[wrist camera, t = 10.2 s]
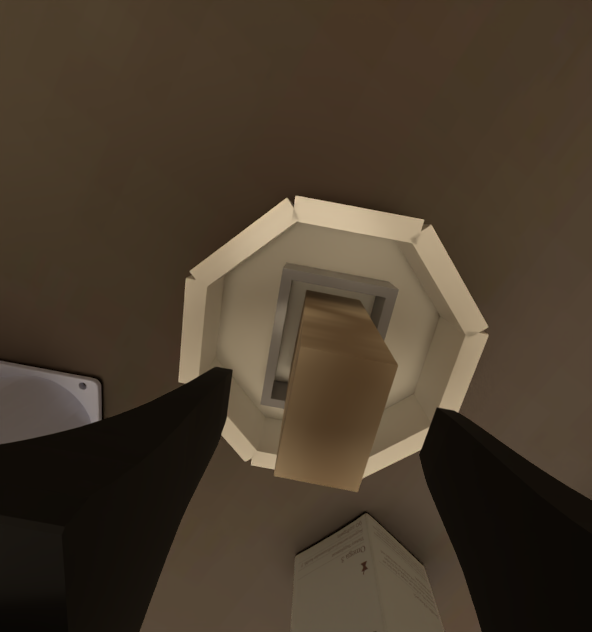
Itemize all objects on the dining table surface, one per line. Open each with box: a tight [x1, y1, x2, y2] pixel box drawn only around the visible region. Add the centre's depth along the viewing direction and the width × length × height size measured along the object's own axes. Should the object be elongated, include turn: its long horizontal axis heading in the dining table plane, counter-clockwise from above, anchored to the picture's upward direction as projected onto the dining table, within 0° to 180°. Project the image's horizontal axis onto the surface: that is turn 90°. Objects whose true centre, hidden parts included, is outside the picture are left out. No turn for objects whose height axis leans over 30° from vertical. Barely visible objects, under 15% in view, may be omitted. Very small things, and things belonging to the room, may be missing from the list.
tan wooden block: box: [274, 290, 398, 492], centre depth 14 cm, size 3×5×8 cm, turn 169°
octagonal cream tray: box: [178, 196, 489, 478], centre depth 17 cm, size 14×14×4 cm
